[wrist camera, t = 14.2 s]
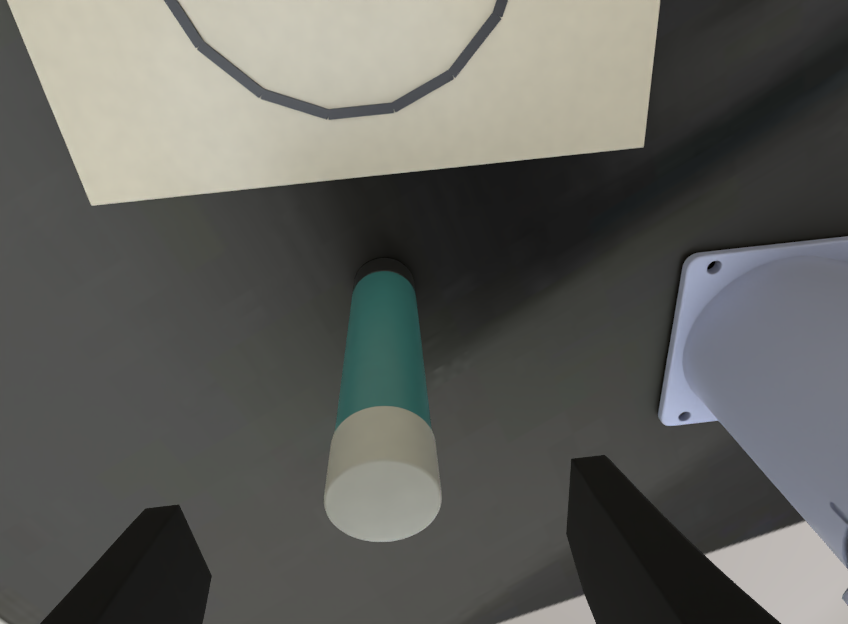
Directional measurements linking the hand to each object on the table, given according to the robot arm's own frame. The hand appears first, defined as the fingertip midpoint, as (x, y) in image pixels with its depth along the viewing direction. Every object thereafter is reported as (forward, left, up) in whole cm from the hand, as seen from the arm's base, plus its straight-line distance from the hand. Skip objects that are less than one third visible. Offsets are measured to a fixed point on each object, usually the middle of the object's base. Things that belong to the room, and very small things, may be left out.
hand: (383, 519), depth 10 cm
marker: (0, 0, -10) cm, 10 cm away
